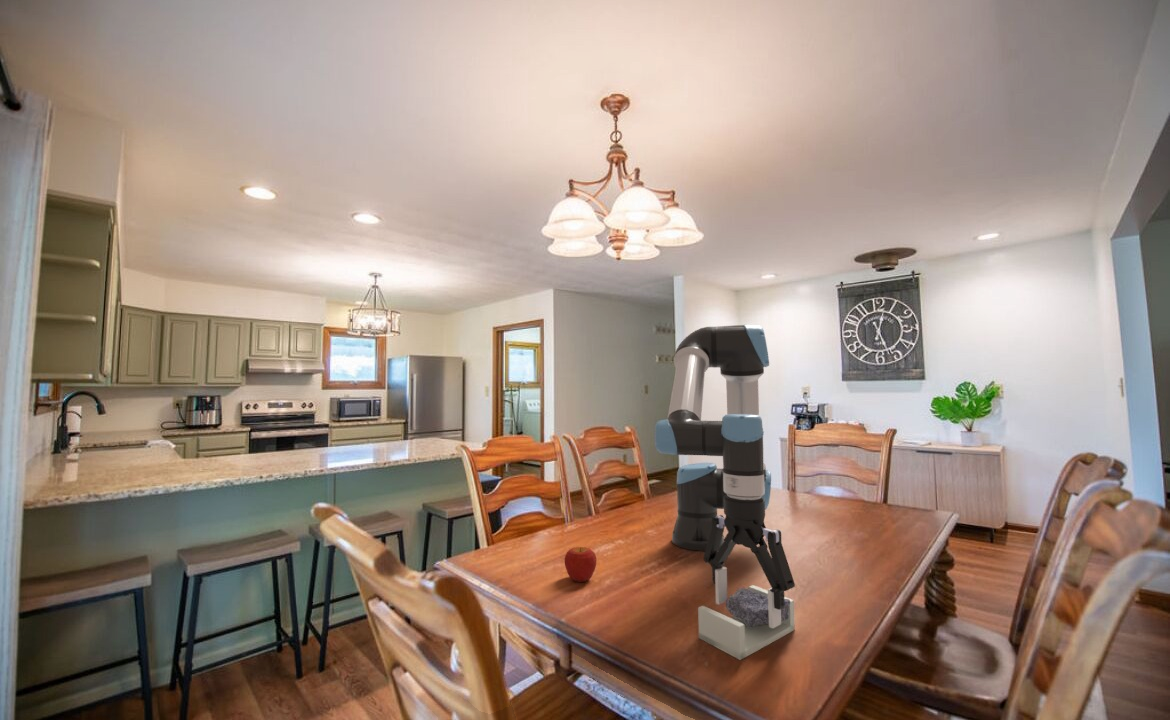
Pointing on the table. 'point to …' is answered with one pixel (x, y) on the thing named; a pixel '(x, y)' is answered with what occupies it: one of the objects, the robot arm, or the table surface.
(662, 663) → the table surface
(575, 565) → the apple
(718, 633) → the u rest
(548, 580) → the table surface
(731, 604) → the rock
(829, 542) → the table surface
